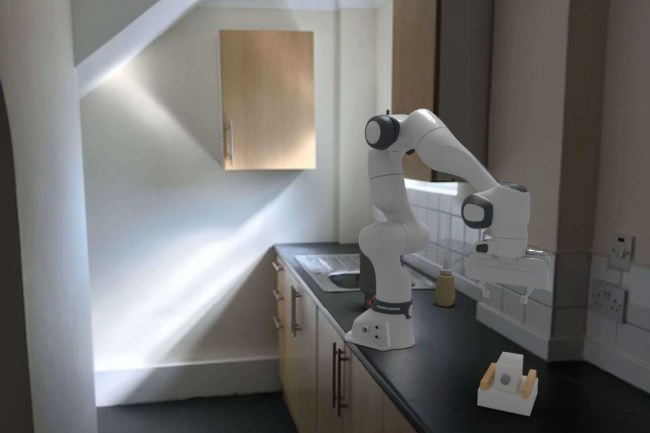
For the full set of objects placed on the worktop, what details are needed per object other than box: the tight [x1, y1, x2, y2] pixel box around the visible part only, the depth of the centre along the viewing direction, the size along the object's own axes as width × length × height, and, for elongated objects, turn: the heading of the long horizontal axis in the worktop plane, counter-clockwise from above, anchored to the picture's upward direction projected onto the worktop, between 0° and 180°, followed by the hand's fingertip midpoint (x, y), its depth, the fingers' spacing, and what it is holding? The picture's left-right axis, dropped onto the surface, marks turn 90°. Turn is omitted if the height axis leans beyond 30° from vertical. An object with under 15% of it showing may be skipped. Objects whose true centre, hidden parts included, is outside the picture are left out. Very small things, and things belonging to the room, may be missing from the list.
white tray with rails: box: [477, 362, 539, 417], centre depth 140 cm, size 12×14×6 cm
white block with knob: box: [495, 351, 524, 393], centre depth 140 cm, size 12×5×6 cm, turn 153°
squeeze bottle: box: [434, 259, 456, 307], centre depth 224 cm, size 8×8×18 cm
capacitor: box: [358, 249, 376, 311], centre depth 218 cm, size 14×14×30 cm
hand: (504, 300), depth 145 cm, fingers open, 8 cm apart
